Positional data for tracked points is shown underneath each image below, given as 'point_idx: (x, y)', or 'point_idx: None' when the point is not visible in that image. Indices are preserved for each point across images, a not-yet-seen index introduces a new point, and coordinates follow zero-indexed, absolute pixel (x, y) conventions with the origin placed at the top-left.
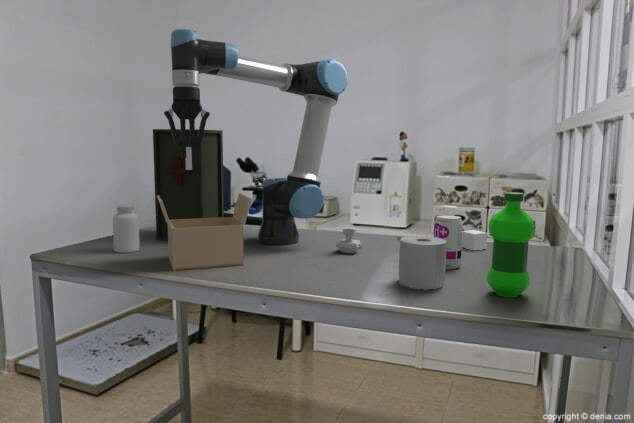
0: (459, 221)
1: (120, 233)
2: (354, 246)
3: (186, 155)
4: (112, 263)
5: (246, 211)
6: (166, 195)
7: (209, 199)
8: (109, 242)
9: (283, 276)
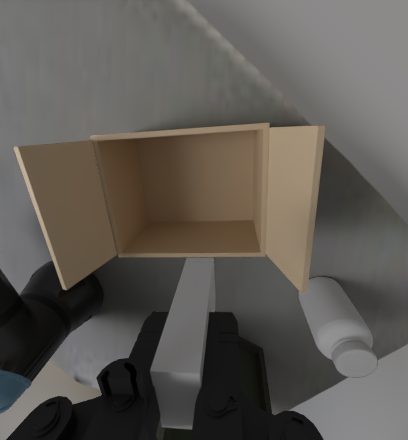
0: None
1: (346, 301)
2: None
3: (205, 312)
4: (356, 209)
5: (59, 143)
6: None
7: None
8: None
9: (61, 23)
